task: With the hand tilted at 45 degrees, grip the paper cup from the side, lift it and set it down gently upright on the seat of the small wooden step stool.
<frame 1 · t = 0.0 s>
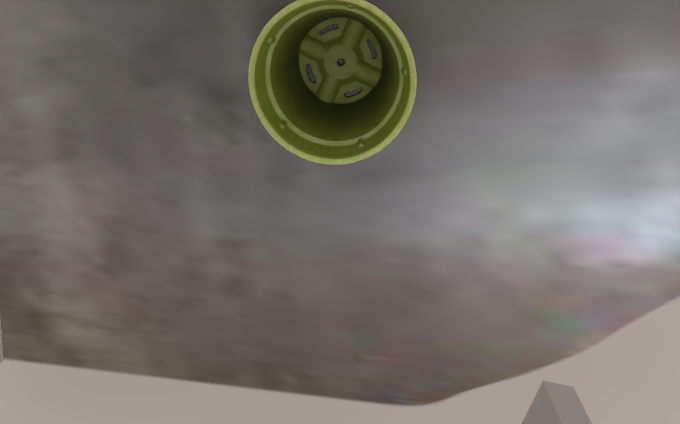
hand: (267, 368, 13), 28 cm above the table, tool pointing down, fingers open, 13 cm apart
plant pot: (339, 61, 37), on the table
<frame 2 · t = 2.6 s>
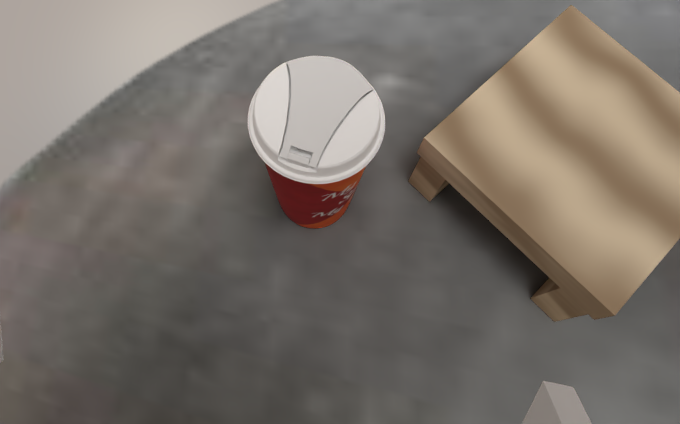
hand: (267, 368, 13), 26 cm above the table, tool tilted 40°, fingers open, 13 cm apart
paper cup: (314, 195, 41), on the table
wooden step stool: (540, 186, 42), on the table
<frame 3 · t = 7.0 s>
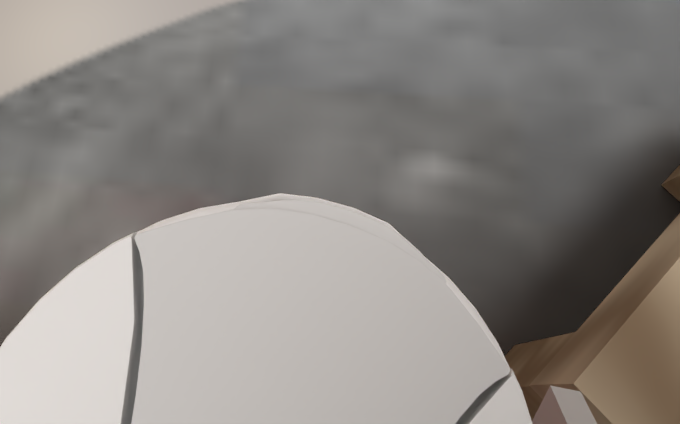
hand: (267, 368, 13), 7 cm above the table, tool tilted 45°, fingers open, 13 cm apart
paper cup: (276, 419, 19), on the table
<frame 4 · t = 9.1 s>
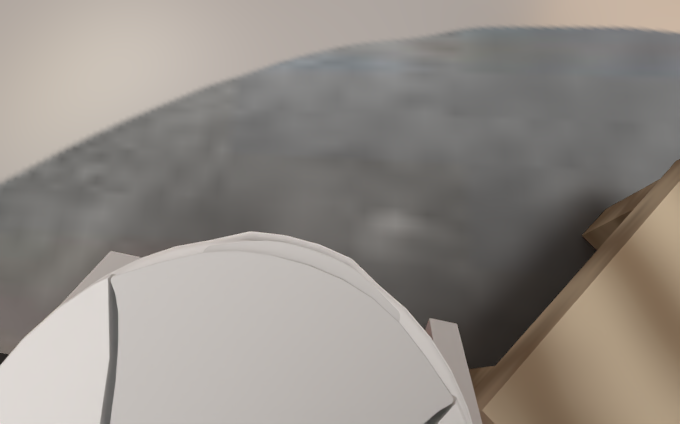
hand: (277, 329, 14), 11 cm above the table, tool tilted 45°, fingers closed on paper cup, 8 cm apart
wooden step stool: (636, 412, 26), on the table
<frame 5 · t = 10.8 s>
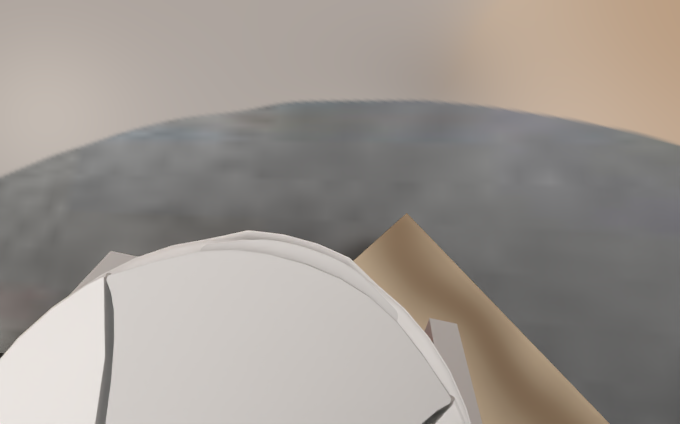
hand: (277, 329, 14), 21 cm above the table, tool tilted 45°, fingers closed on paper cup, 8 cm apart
wooden step stool: (375, 419, 33), on the table
when the fingers open (15 cm above the table, at t = 13.0 s): paper cup stays where it is, resting on wooden step stool.
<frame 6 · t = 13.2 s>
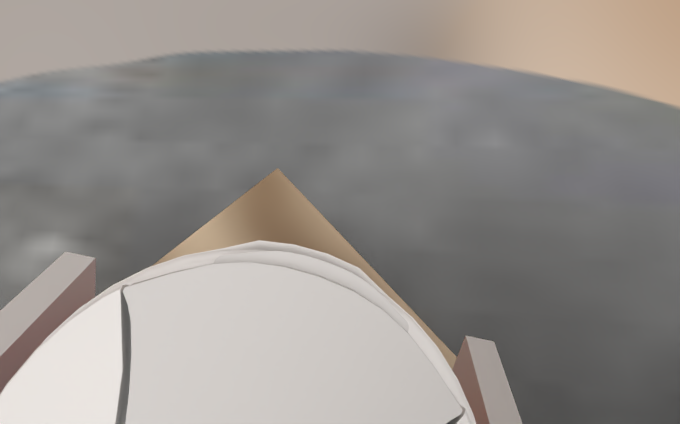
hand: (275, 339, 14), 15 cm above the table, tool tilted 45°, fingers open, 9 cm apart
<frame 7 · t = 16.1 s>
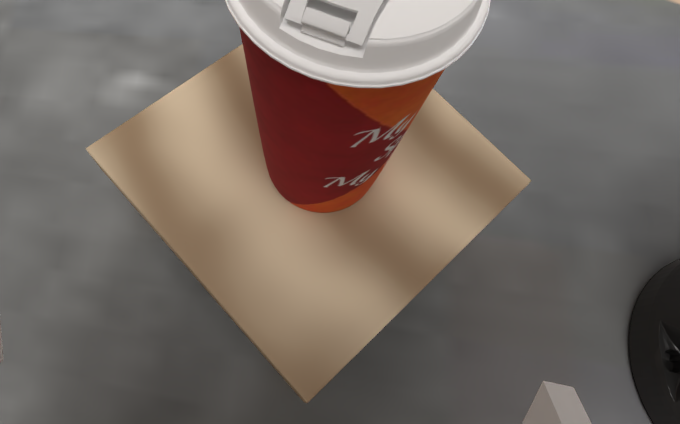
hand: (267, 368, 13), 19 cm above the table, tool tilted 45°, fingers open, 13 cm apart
paper cup: (322, 162, 27), point 8 cm above the table, touching wooden step stool
wooden step stool: (308, 216, 34), on the table
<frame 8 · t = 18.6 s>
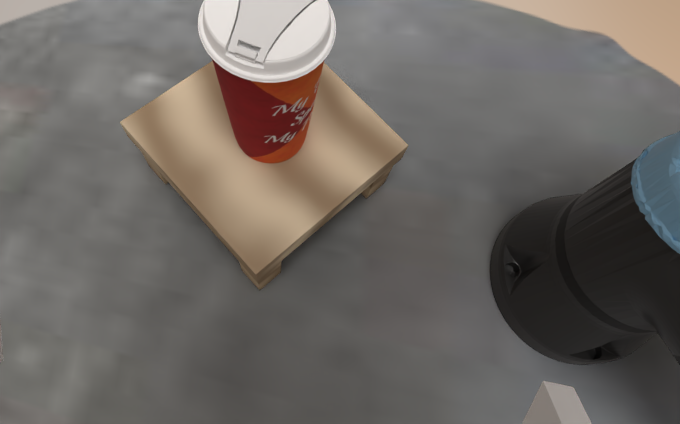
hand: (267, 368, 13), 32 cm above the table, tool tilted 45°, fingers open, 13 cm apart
paper cup: (271, 132, 41), point 8 cm above the table, touching wooden step stool
wooden step stool: (269, 174, 48), on the table
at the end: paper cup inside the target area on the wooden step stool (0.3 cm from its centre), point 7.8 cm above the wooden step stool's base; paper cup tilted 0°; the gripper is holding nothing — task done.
